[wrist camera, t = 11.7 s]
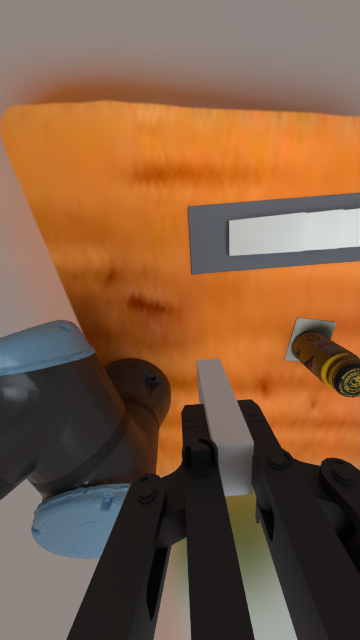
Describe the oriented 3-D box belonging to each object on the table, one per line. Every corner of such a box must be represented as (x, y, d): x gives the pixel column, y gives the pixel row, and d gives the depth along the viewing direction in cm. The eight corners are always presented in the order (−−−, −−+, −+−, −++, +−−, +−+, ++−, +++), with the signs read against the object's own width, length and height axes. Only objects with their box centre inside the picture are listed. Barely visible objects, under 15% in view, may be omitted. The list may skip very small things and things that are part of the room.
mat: (191, 273, 37) (192, 274, 36) (187, 207, 34) (188, 206, 33) (384, 258, 37) (386, 258, 36) (398, 190, 34) (401, 189, 33)
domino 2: (261, 253, 34) (337, 248, 31) (263, 217, 33) (343, 209, 30) (261, 252, 36) (334, 248, 33) (262, 218, 34) (339, 210, 31)
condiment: (284, 359, 42) (325, 401, 31) (296, 317, 40) (346, 345, 28) (320, 363, 43) (374, 405, 31) (335, 321, 40) (399, 351, 29)
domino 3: (294, 250, 34) (373, 245, 31) (297, 215, 33) (380, 206, 30) (292, 250, 36) (368, 245, 33) (295, 216, 34) (374, 207, 31)
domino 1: (229, 255, 34) (302, 251, 31) (229, 220, 33) (305, 212, 30) (230, 255, 36) (300, 250, 33) (230, 221, 34) (303, 213, 31)
